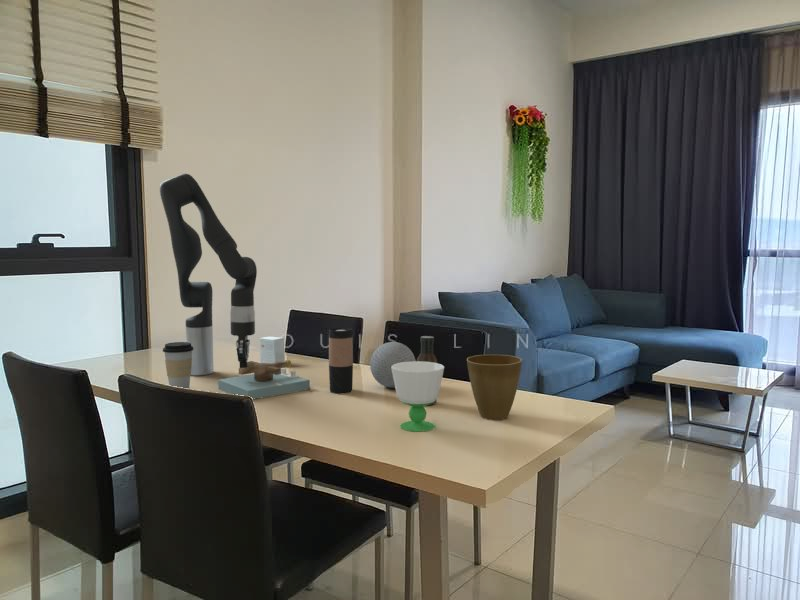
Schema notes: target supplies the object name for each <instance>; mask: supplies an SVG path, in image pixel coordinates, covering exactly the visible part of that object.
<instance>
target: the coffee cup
mask: <svg viewBox="0 0 800 600" xmlns="http://www.w3.org/2000/svg"><path fill="white" fill-rule="evenodd" d="M192 350H194V349H193V346H191V343H189V342H186V341H176V342H175V341H173V342H168V343H165V344H164V347H162V352H163V353H164V362H165V370H166V376H167V379H168V380H167V381H168V386H169V385H171V386H177V387H183V388H189V389H190V383H191V376H192V375H191V367H192Z"/></svg>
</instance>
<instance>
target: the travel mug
mask: <svg viewBox="0 0 800 600" xmlns="http://www.w3.org/2000/svg"><path fill="white" fill-rule="evenodd" d="M353 340H354V339H353V329H352V328H347V329H344V328H341V327H333V328H329V329H328V371H329V373H328V375H329V392H330V393H332V394H335V395H336V394H341V395H343V394H349V393H352V391H353V379H354V377H353V376H354V374H353V373H354V372H353V371H354V353H353V352H354V349H353V348H354V347H353V343H354V342H353Z"/></svg>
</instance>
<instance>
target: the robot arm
mask: <svg viewBox="0 0 800 600" xmlns="http://www.w3.org/2000/svg"><path fill="white" fill-rule="evenodd" d="M159 194H160V195H159V196H160V199H161V202H162V206H163V209H164V213H165V217H166V219H167V223H168V229H169V234H170V240H171V248H172V252H173V257H174V261H175V265H176V271H177V278H178V279H177V280H178V286H179V287H178V289H179V297H180V302H181V304H182V307H185V308H202V310H201V312H199V313H197V314H195V315H192V316H190V317H188V318H186V319H185V342H189V343H191V346H193V349H194V350H192V367H191V375H190V376H204V375H210V374H213V373H215V371H214V370H215V369H214V366H215V365H214V338H213V337H214V332H213V331H214V330H213V328H214V327H213V287H212V283H210V282H208V281H190V277H191V274H192V273H193V271H194V270H195V268H196V267H197V265H198V263H199V262H200V260H201V259H202V256H203V249H202V243H201V238H200V235H199V233H198V232H197V231H196V229H194V228H193V227H192V226H191V225H190V224H188V223H187V221H185V219H184V217H183V215H182V207H184V206H187V205H189V204H191V203H193V204H194V205H195V206H196V208H197V209H198V211H199V214H200V219H201V228H202V233H203V236H204V239H205V241H206V242H207V244H208V246H209V247H211V249H212V251H214V252H215V254H216V255H217V257H218V259H219V261H220V263H221V265H222V267H223V269H224V270H225V272H226V273H227V274H228V276H229V277H231V278H232V279H234V280H235V285H234V287H233V288H232V289H231V291H230V335H232V336H234V337H235V336H236V337H238V338H237V340H236V341H235V347H236V356H237V362H238V363H239V368H244V367H247V362H249V354H250V344H251V340H250V339H249V337H248V336H254V335H255V333H256V321H255V320H256V318H255V317H256V316H255V315H256V311H255V303H254V302H255V300H254V299H255V297H254V295H255V294H254V291H255V286H256V281H257V274H258V272H257V271H258V269H257V265H256V262H255V261H254V259H253V258H252V257H249V256H242V255H241V254H240V253H239V251H238V250H237V249H238V244H237V242H236V241H235V239H234V238H233V236H232V235H231V234H230V233H229V231H228V230H227V229H226V227H225V226H224V225H223V224H222V222H221V221H220V219H219V218H218V216H217V215H216V211H214V209H213V207H212V205H211V203H210V202H209V200H208V198H207V196H206V194H205V193H204V191H203V189H202V188H201V186H200V185H199V183H198V182H197V180H196V179H195V178H194V177H193V176H192V175H191V174H189V173H182V174H179V175H176V176H173V177H171V178H170V179H166V180H163V181H162V182H161V183H160V185H159Z"/></svg>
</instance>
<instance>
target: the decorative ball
mask: <svg viewBox="0 0 800 600" xmlns="http://www.w3.org/2000/svg"><path fill="white" fill-rule="evenodd" d="M412 361H416V357H415V355H414V353H413V352H412V349H410V348H409V347H408V346H407V345H406V344H403V343H401V342H397V341H389V342H385V343H383V344H381V345H380V346H378V347H377V348H376V349H375V351H374V352H373V354H372V355H371V358H370V364H369V366H370V367H369V368H370V372H371V374H372V377H373V378H374V379H375V381H377V383H378V384H380V385H381V386H383V387H386V388H388V389H389V388H390V389H395V384H394V379H393V374H392V369H391V367H392V365H393V364H397V363H401V362H412Z"/></svg>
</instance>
